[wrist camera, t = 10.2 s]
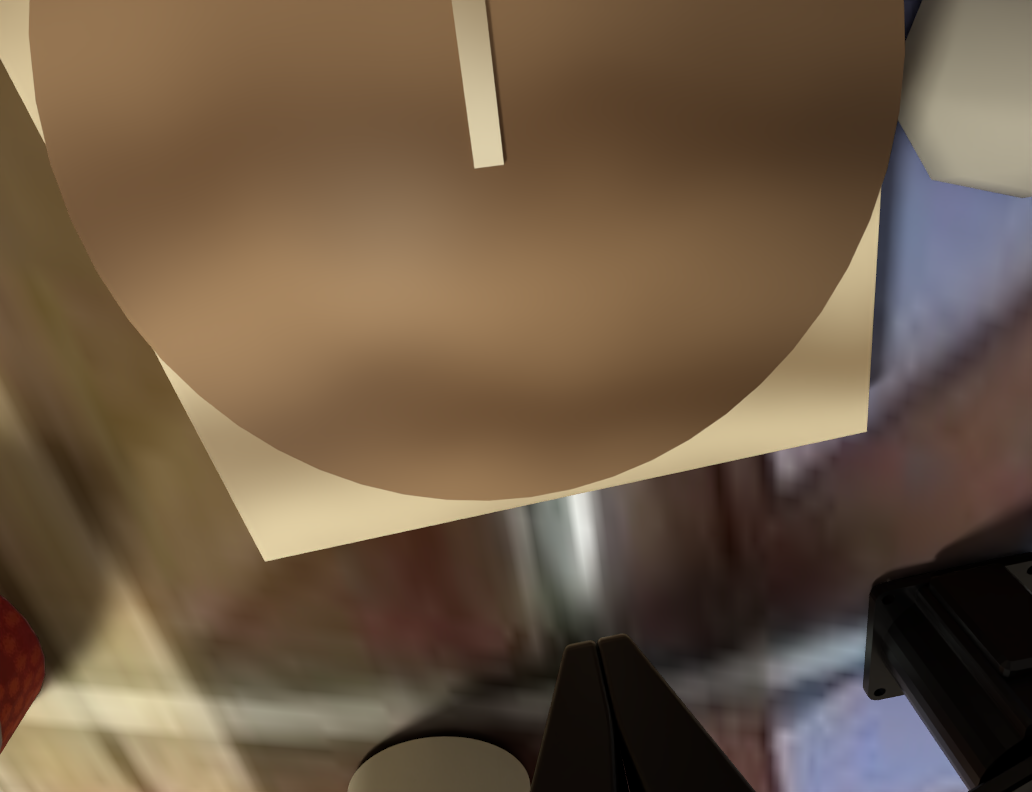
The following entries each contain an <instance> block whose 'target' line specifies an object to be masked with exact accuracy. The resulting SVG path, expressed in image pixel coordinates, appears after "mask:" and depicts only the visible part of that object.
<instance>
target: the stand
mask: <svg viewBox="0 0 1032 792" xmlns="http://www.w3.org/2000/svg"><path fill="white" fill-rule="evenodd" d="M0 59H1V60H2V62H3V64H4V66H5V68H6V70H7V72H8V74H9V76H10V78H11V79H12V81H13V83H14V85H15V87H16V89H17V91H18V93H19V95H20V97H21V98H22V100H23V102H24V104H25V106H26V108H27V110H28V112H29V114H30V116H31V117H32V119H33V121H34V123H35V125H36V127H37V129H38V131H39V133H40V135H41V137H42V138H43V140H44V142H45V139H44V135H43V131H42V126H41V122H40V118H39V114H38V109H37V105H36V101H35V91H34V81H33V72H32V62H31V53H30V43H29V0H0ZM45 144H46V143H45ZM880 198H881V189H880V192H879V195H878V198H877V201H876V204H875V207H874V210H873V213H872V216H871V219H870V221H869V223H868V226H867V228H866V230H865V232H864V234H863V237H862V239H861V241H860V243H859V245H858V247H857V250H856V252H855V254H854V256H853V258H852V260H851V263H850V265H849V267H848V269H847V270H846V272H845V274H844V275H843V277H842V279H841V280H840V282H839V284H838V285H837V287H836V289H835V290H834V292H833V294H832V295H831V297H830V299H829V300H828V302H827V304H826V306H825V307H824V309H823V311H822V312H821V313H820V315H819V316H818V317H817V319H816V320H815V321H814V323H813V324H812V325H811V327H810V328H809V329H808V331H807V332H806V333H805V335H804V336H803V337H802V338H801V340H800V341H799V342H798V344H797V345H796V346H795V348H794V349H793V350H792V351H791V352H790V354H789V355H788V356H787V357H786V358H785V359H784V360H783V361H782V362H781V363H780V364H779V365H778V366H777V367H776V368H775V370H774V371H773V372H772V373H771V374H770V375H769V376H768V377H767V378H766V379H765V380H764V381H763V382H762V383H761V384H760V385H759V386H758V387H757V388H756V389H755V390H754V391H752V392H751V393H750V394H749V395H748V396H747V397H745V398H744V399H743V400H742V401H741V402H740V403H739V404H737V405H736V406H735V407H734V408H733V409H732V410H730V411H729V412H728V413H727V414H726V415H724V416H723V417H721V418H720V419H719V420H717V421H716V422H714V423H713V424H711V425H710V426H708V427H707V428H706V429H704V430H703V431H701V432H700V433H698V434H697V435H696V436H694V437H693V438H691V439H690V440H688V441H686V442H684V443H682V444H681V445H679V446H677V447H675V448H673V449H672V450H670V451H668V452H666V453H664V454H663V455H661V456H659V457H657V458H655V459H653V460H652V461H649V462H647V463H644V464H642V465H640V466H637V467H635V468H633V469H630V470H628V471H626V472H623V473H621V474H618V475H616V476H614V477H611V478H607V479H604V480H601V481H598V482H594V483H591V484H588V485H584V486H581V487H578V488H575V489H571V490H566V491H560V492H555V493H550V494H545V495H540V496H534V497H527V498H515V499H504V500H492V501H476V500H443V499H435V498H427V497H419V496H411V495H404V494H400V493H395V492H391V491H387V490H382V489H378V488H374V487H370V486H365V485H361V484H358V483H356V482H353V481H350V480H347V479H344V478H341V477H338V476H336V475H333V474H330V473H327V472H324V471H321V470H319V469H317V468H315V467H312V466H310V465H308V464H306V463H304V462H302V461H300V460H298V459H296V458H293V457H291V456H289V455H287V454H285V453H283V452H281V451H279V450H277V449H275V448H274V447H272V446H270V445H269V444H267V443H266V442H264V441H262V440H261V439H259V438H257V437H256V436H254V435H252V434H251V433H249V432H248V431H246V430H244V429H243V428H241V427H239V426H238V425H236V424H235V423H234V422H233V421H231V420H230V419H229V418H227V417H226V416H225V415H224V414H222V413H221V412H220V411H218V410H217V409H216V408H214V407H213V406H212V405H211V404H209V403H208V402H207V401H205V400H204V399H203V398H202V397H200V396H199V395H198V394H197V393H196V392H195V391H194V390H193V389H192V388H191V387H190V386H189V385H188V384H186V383H185V382H184V381H183V380H182V379H181V378H180V377H179V376H178V375H177V374H176V373H175V372H174V371H173V370H172V369H171V368H170V367H169V366H168V365H167V364H166V363H165V362H164V361H163V360H162V359H161V358H160V357H159V356H158V354H157V353H156V352H155V353H156V355H157V357H158V359H159V361H160V363H161V365H162V367H163V369H164V370H165V372H166V374H167V376H168V378H169V380H170V382H171V384H172V386H173V388H174V389H175V391H176V393H177V395H178V397H179V399H180V401H181V403H182V405H183V407H184V408H185V410H186V412H187V414H188V416H189V418H190V420H191V422H192V424H193V426H194V427H195V429H196V431H197V433H198V435H199V437H200V439H201V441H202V443H203V445H204V447H205V448H206V450H207V452H208V454H209V456H210V458H211V460H212V462H213V464H214V466H215V467H216V469H217V471H218V473H219V475H220V477H221V479H222V481H223V483H224V485H225V486H226V488H227V490H228V492H229V494H230V496H231V498H232V500H233V502H234V504H235V505H236V507H237V509H238V511H239V513H240V515H241V517H242V519H243V521H244V523H245V524H246V526H247V528H248V530H249V532H250V534H251V536H252V538H253V540H254V542H255V544H256V545H257V547H258V549H259V551H260V553H261V555H262V557H263V559H264V561H269V560H274V559H279V558H283V557H288V556H293V555H297V554H302V553H306V552H311V551H316V550H320V549H325V548H330V547H334V546H339V545H344V544H348V543H353V542H357V541H362V540H367V539H371V538H376V537H381V536H385V535H390V534H394V533H399V532H404V531H408V530H413V529H418V528H422V527H427V526H432V525H436V524H441V523H445V522H450V521H455V520H459V519H464V518H469V517H473V516H478V515H483V514H487V513H492V512H496V511H501V510H506V509H510V508H515V507H520V506H524V505H529V504H533V503H538V502H543V501H547V500H552V499H557V498H561V497H566V496H571V495H575V494H580V493H584V492H589V491H594V490H598V489H603V488H608V487H612V486H617V485H621V484H626V483H631V482H635V481H640V480H645V479H649V478H654V477H659V476H663V475H668V474H672V473H677V472H682V471H686V470H691V469H696V468H700V467H705V466H710V465H714V464H719V463H723V462H728V461H733V460H737V459H742V458H747V457H751V456H756V455H760V454H765V453H770V452H774V451H779V450H784V449H788V448H793V447H798V446H802V445H807V444H811V443H816V442H821V441H825V440H830V439H835V438H839V437H844V436H848V435H853V434H858V433H862V432H867V416H868V399H869V382H870V366H871V349H872V332H873V316H874V299H875V282H876V265H877V249H878V232H879V215H880Z"/></svg>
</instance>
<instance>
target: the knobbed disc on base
mask: <svg viewBox="0 0 1032 792" xmlns="http://www.w3.org/2000/svg"><path fill="white" fill-rule="evenodd" d="M29 43H30V53H31V62H32V72H33V81H34V91H35V101H36V105H37V109H38V114H39V118H40V122H41V126H42V131H43V135H44V139H45V143H46V148H47V152H48V156H49V161H50V164H51V167H52V170H53V172H54V175H55V178H56V181H57V183H58V186H59V189H60V192H61V194H62V197H63V200H64V202H65V205H66V208H67V211H68V213H69V216H70V219H71V221H72V223H73V225H74V227H75V229H76V231H77V233H78V235H79V237H80V239H81V241H82V243H83V245H84V247H85V249H86V251H87V253H88V255H89V257H90V259H91V261H92V263H93V265H94V267H95V269H96V271H97V273H98V274H99V276H100V277H101V279H102V280H103V282H104V283H105V285H106V286H107V288H108V289H109V291H110V292H111V294H112V295H113V297H114V299H115V300H116V302H117V303H118V305H119V306H120V308H121V309H122V311H123V312H124V314H125V315H126V317H127V318H128V320H129V321H130V322H131V323H132V324H133V326H134V327H135V328H136V329H137V330H138V332H139V333H140V334H141V335H142V336H143V338H144V339H145V340H146V341H147V342H148V344H149V345H150V346H151V347H152V348H153V350H154V351H155V352H156V353H157V354H158V356H159V357H160V358H161V359H162V360H163V361H164V362H165V363H166V364H167V365H168V366H169V367H170V368H171V369H172V370H173V371H174V372H175V373H176V374H177V375H178V376H179V377H180V378H181V379H182V380H183V381H184V382H185V383H186V384H188V385H189V386H190V387H191V388H192V389H193V390H194V391H195V392H196V393H197V394H198V395H199V396H200V397H202V398H203V399H204V400H205V401H207V402H208V403H209V404H211V405H212V406H213V407H214V408H216V409H217V410H218V411H220V412H221V413H222V414H224V415H225V416H226V417H227V418H229V419H230V420H231V421H233V422H234V423H235V424H236V425H238V426H239V427H241V428H243V429H244V430H246V431H248V432H249V433H251V434H252V435H254V436H256V437H257V438H259V439H261V440H262V441H264V442H266V443H267V444H269V445H270V446H272V447H274V448H275V449H277V450H279V451H281V452H283V453H285V454H287V455H289V456H291V457H293V458H296V459H298V460H300V461H302V462H304V463H306V464H308V465H310V466H312V467H315V468H317V469H319V470H321V471H324V472H327V473H330V474H333V475H336V476H338V477H341V478H344V479H347V480H350V481H353V482H356V483H358V484H361V485H365V486H370V487H374V488H378V489H382V490H387V491H391V492H395V493H400V494H404V495H411V496H419V497H427V498H435V499H443V500H476V501H492V500H504V499H515V498H527V497H534V496H540V495H545V494H550V493H555V492H560V491H566V490H571V489H575V488H578V487H581V486H584V485H588V484H591V483H594V482H598V481H601V480H604V479H607V478H611V477H614V476H616V475H618V474H621V473H623V472H626V471H628V470H630V469H633V468H635V467H637V466H640V465H642V464H644V463H647V462H649V461H652V460H653V459H655V458H657V457H659V456H661V455H663V454H664V453H666V452H668V451H670V450H672V449H673V448H675V447H677V446H679V445H681V444H682V443H684V442H686V441H688V440H690V439H691V438H693V437H694V436H696V435H697V434H698V433H700V432H701V431H703V430H704V429H706V428H707V427H708V426H710V425H711V424H713V423H714V422H716V421H717V420H719V419H720V418H721V417H723V416H724V415H726V414H727V413H728V412H729V411H730V410H732V409H733V408H734V407H735V406H736V405H737V404H739V403H740V402H741V401H742V400H743V399H744V398H745V397H747V396H748V395H749V394H750V393H751V392H752V391H754V390H755V389H756V388H757V387H758V386H759V385H760V384H761V383H762V382H763V381H764V380H765V379H766V378H767V377H768V376H769V375H770V374H771V373H772V372H773V371H774V370H775V368H776V367H777V366H778V365H779V364H780V363H781V362H782V361H783V360H784V359H785V358H786V357H787V356H788V355H789V354H790V352H791V351H792V350H793V349H794V348H795V346H796V345H797V344H798V342H799V341H800V340H801V338H802V337H803V336H804V335H805V333H806V332H807V331H808V329H809V328H810V327H811V325H812V324H813V323H814V321H815V320H816V319H817V317H818V316H819V315H820V313H821V312H822V311H823V309H824V307H825V306H826V304H827V302H828V300H829V299H830V297H831V295H832V294H833V292H834V290H835V289H836V287H837V285H838V284H839V282H840V280H841V279H842V277H843V275H844V274H845V272H846V270H847V269H848V267H849V265H850V263H851V260H852V258H853V256H854V254H855V252H856V250H857V247H858V245H859V243H860V241H861V239H862V237H863V234H864V232H865V230H866V228H867V226H868V223H869V221H870V219H871V216H872V213H873V210H874V207H875V204H876V201H877V198H878V195H879V192H880V189H881V186H882V183H883V180H884V177H885V174H886V171H887V168H888V163H889V158H890V154H891V149H892V144H893V140H894V135H895V130H896V125H897V121H898V116H899V111H900V100H901V90H902V79H903V69H904V58H905V26H904V0H29Z"/></svg>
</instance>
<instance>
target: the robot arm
mask: <svg viewBox="0 0 1032 792" xmlns="http://www.w3.org/2000/svg"><path fill="white" fill-rule="evenodd" d="M597 647H598V648H597ZM598 652H599V653H598ZM599 656H600V657H599ZM601 665H602V666H601ZM863 689H864V691H865V692H866V694H867V696H868V697H869V698H870V699H872V700H881V699H886V698H891V697H895V696H900V695H905V696H906V697H907V699H908V700H909V702H910V703H911V705H912V706H913V708H914V709H915V711H916V712H917V714H918V715H919V717H920V718H921V720H922V721H923V723H924V724H925V726H926V727H927V729H928V730H929V732H930V733H931V735H932V736H933V738H934V739H935V741H936V742H937V744H938V745H939V747H940V748H941V750H942V751H943V752H944V754H945V755H946V757H947V758H948V760H949V761H950V763H951V764H952V766H953V767H954V769H955V770H956V772H957V773H958V775H959V776H960V778H961V779H962V781H963V782H964V784H965V785H966V787H967V788H968V790H969V791H968V792H1032V552H1028V553H1023V554H1018V555H1014V556H1009V557H1004V558H999V559H994V560H990V561H985V562H980V563H975V564H970V565H966V566H961V567H956V568H951V569H946V570H942V571H937V572H932V573H927V574H923V575H918V576H913V577H908V578H903V579H899V580H894V581H889V582H884V583H881V584H878V585H877V586H875V587H874V588H873V589H872V590H871V592H870V596H869V610H868V623H867V637H866V651H865V665H864V678H863ZM620 750H621V751H620ZM622 759H623V760H622ZM623 764H624V765H623ZM624 768H625V769H624ZM625 773H626V774H625ZM626 777H627V778H626ZM627 782H628V783H627ZM628 786H629V788H628ZM629 790H630V792H755V790H754V789H753V788H752V787H751V785H750V784H749V783H748V782H747V780H746V779H745V778H744V777H743V776H742V774H741V773H740V772H739V771H738V769H737V768H736V767H735V766H734V765H733V763H732V762H731V761H730V760H729V758H728V757H727V756H726V755H725V753H724V752H723V751H722V750H721V749H720V747H719V746H718V745H717V744H716V742H715V741H714V740H713V739H712V737H711V736H710V735H709V734H708V733H707V731H706V730H705V729H704V728H703V726H702V725H701V724H700V723H699V722H698V720H697V719H696V718H695V717H694V715H693V714H692V713H691V712H690V710H689V709H688V708H687V707H686V706H685V704H684V703H683V702H682V701H681V699H680V698H679V697H678V696H677V695H676V693H675V692H674V691H673V690H672V688H671V687H670V686H669V685H668V683H667V682H666V681H665V680H664V679H663V677H662V676H661V675H660V674H659V672H658V671H657V670H656V669H655V667H654V666H653V665H652V664H651V663H650V661H649V660H648V659H647V658H646V656H645V655H644V654H643V653H642V652H641V650H640V649H639V648H638V647H637V645H636V644H635V643H634V642H633V640H632V639H631V638H630V637H629V636H628V635H626V634H617V635H613V636H608V637H603V638H600V639H599V640H598V642H597V645H596V643H595V642H594V641H592V640H589V641H584V642H579V643H574V644H570V645H568V646H566V648H565V650H564V652H563V656H562V660H561V664H560V669H559V673H558V677H557V681H556V685H555V689H554V693H553V697H552V702H551V706H550V710H549V714H548V718H547V722H546V726H545V731H544V735H543V739H542V743H541V747H540V751H539V755H538V759H537V764H536V768H535V772H534V776H533V780H532V784H531V788H530V792H629Z"/></svg>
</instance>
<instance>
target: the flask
mask: <svg viewBox="0 0 1032 792" xmlns="http://www.w3.org/2000/svg"><path fill="white" fill-rule="evenodd" d="M898 121H899V123H900V124H901V126H902V128H903V130H904V131H905V133H906V135H907V137H908V139H909V140H910V142H911V144H912V146H913V147H914V149H915V151H916V153H917V155H918V156H919V158H920V160H921V162H922V164H923V165H924V167H925V169H926V171H927V172H928V174H929V176H930V178H931V180H936V181H941V182H946V183H951V184H956V185H961V186H966V187H970V188H975V189H980V190H985V191H990V192H995V193H1000V194H1005V195H1010V196H1015V197H1020V198H1026V197H1032V0H922V2H921V5H920V7H919V10H918V12H917V15H916V17H915V19H914V22H913V24H912V27H911V29H910V32H909V34H908V37H907V39H906V42H905V58H904V69H903V79H902V90H901V100H900V111H899V116H898Z"/></svg>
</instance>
